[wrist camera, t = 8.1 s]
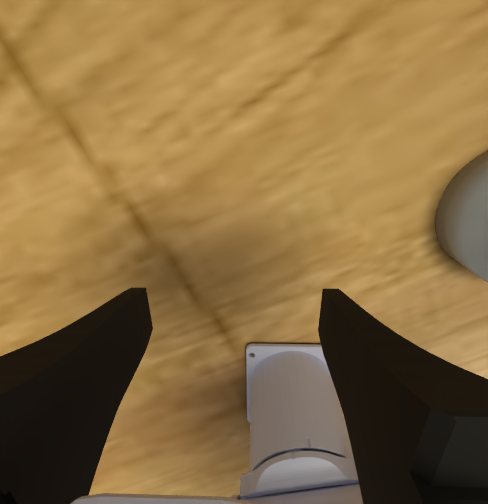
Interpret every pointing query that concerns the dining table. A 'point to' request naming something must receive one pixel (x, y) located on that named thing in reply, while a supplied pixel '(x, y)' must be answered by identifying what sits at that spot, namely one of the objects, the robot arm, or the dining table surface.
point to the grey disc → (466, 217)
